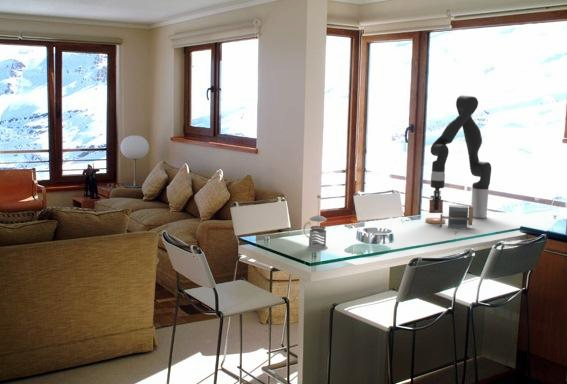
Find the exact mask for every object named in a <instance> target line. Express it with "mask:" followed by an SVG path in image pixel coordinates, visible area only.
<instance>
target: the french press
mask: <svg viewBox="0 0 567 384" xmlns="http://www.w3.org/2000/svg"><path fill="white" fill-rule="evenodd" d="M321 197H322V196H321V195H320V194H318V195H317V196H316V198H317V199H321ZM317 203H318V204H317V205H318V206H317V207H318V208H317V209H318V212H317V215H314V216H311V217H310V218H309V220H310V221H311V222H317V223H321V222H326V221H327V220H328V219H327V218H326V217H324V216H322V215H320V214H319V210H320V209H319V208H320V207H319V206H320V201H318V202H317ZM310 221H308V222H306V223H305V224H304V225H303V233H304V235H305V236H306V238H308V246H307V247H306V248H307V249H308V250H311V249H312V251H326V250H328V248H329V247H328V246H327V230H325V229H326V227H325V226H322V225H312V226H310V230H309V235H307V234H306V233H305V229H306V228H305V227H306V226H307V225H308V224H311V222H310Z"/></svg>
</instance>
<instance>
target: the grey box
mask: <svg viewBox="0 0 567 384" xmlns="http://www.w3.org/2000/svg"><path fill="white" fill-rule="evenodd" d="M448 216H449V219H447V220H448V222H447V228H448V229H449V228H450V229H460V228H466V229H465V230H468V216H469V205H459V204H456V205H455V204H454V205H453V204H449V205H448ZM450 217H467V219H466V220H458V219H450Z"/></svg>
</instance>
